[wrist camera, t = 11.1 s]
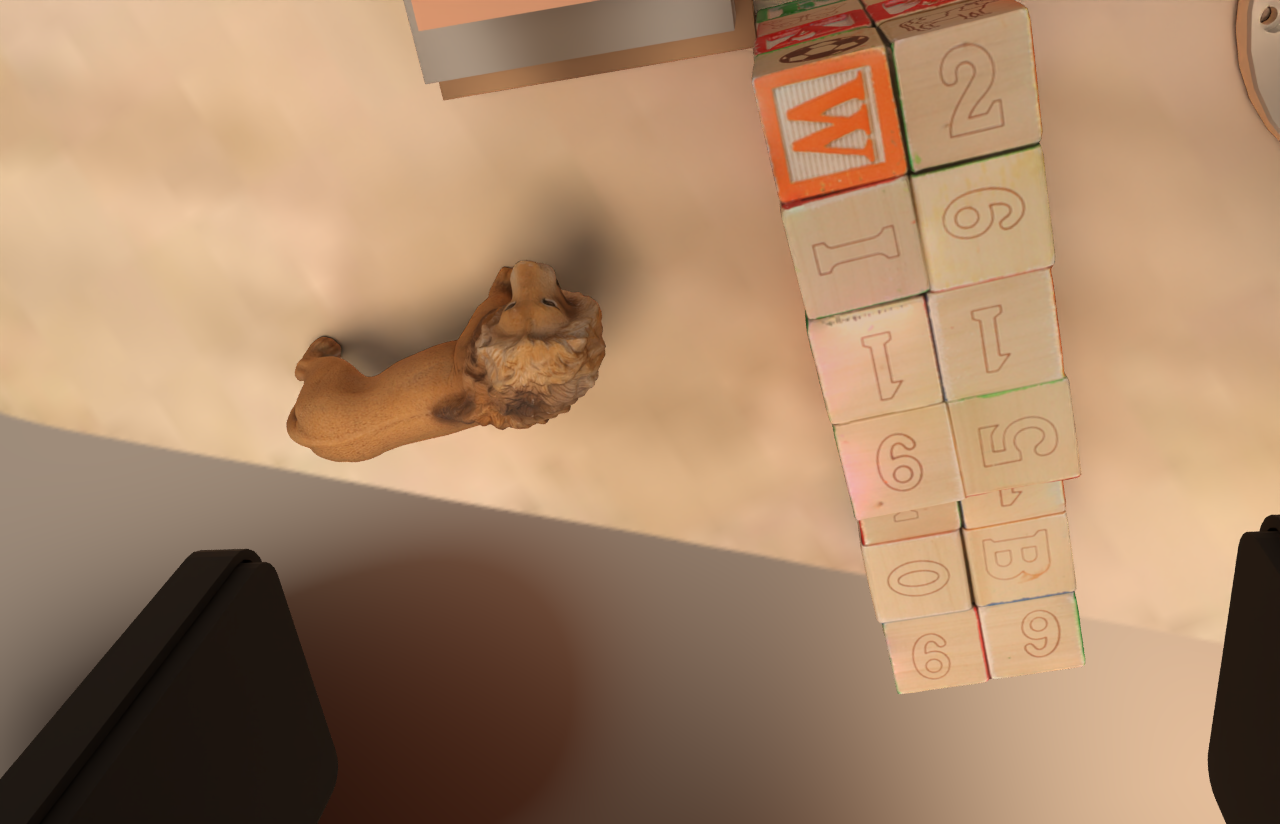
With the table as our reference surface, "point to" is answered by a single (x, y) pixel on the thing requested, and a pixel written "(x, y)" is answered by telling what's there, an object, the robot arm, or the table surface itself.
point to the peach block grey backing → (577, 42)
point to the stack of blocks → (932, 318)
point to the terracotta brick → (476, 10)
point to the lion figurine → (458, 374)
